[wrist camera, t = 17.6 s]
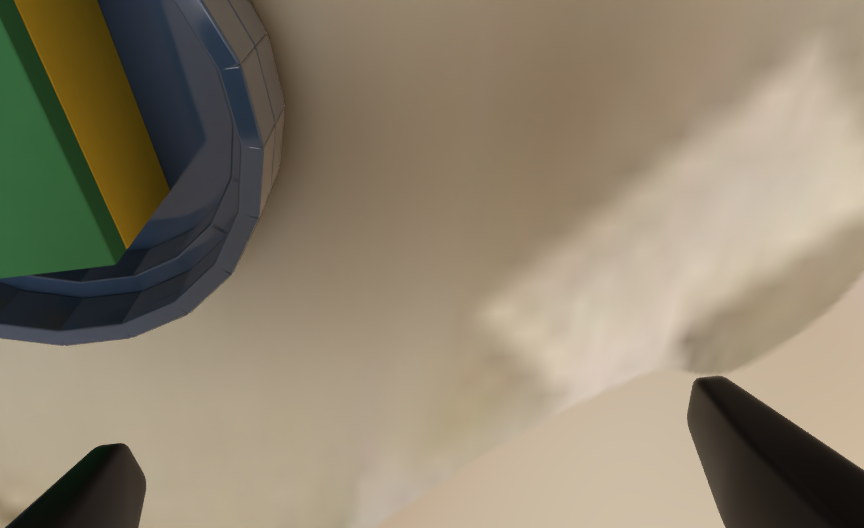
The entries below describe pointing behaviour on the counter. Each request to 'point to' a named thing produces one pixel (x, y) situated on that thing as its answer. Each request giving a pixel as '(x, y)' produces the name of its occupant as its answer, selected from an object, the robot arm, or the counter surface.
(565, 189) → the counter surface
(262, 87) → the bowl
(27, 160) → the sponge
